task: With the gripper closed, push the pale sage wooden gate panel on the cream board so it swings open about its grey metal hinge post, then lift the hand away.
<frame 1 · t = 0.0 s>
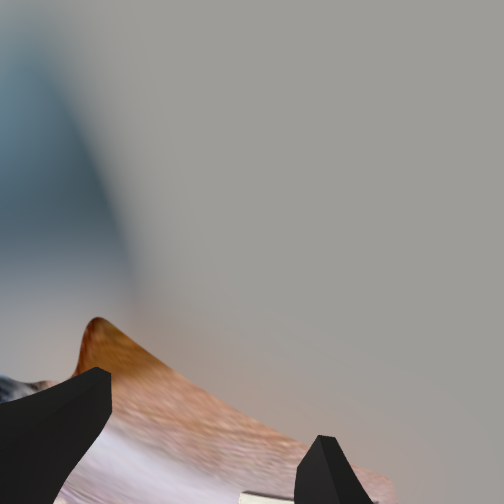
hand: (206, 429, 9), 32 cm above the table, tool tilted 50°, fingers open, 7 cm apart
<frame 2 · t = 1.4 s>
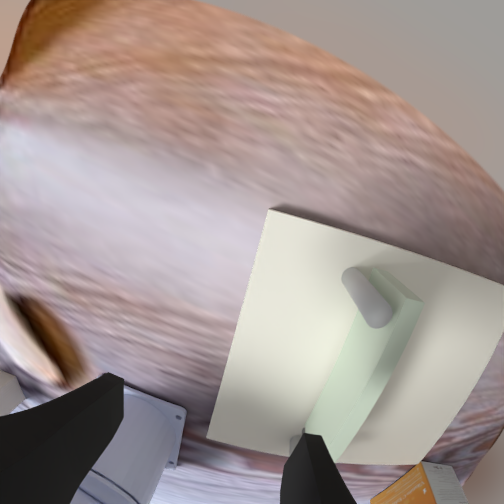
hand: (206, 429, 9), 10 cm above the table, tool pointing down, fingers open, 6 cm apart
gate frame: (370, 374, 19), on the table
gate: (348, 390, 15), point 4 cm above the table, hinge at 0.0°
model: (0, 375, 25), on the table
small box: (410, 482, 22), on the table
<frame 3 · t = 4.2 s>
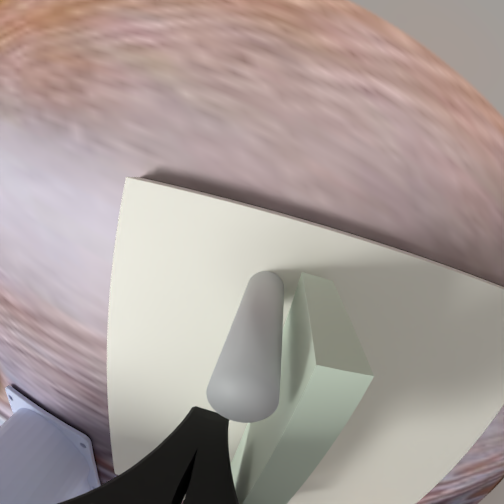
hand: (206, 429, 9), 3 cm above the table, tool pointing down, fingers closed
gate frame: (318, 429, 12), on the table
gate: (253, 471, 8), point 4 cm above the table, hinge at 0.0°, touching gripper
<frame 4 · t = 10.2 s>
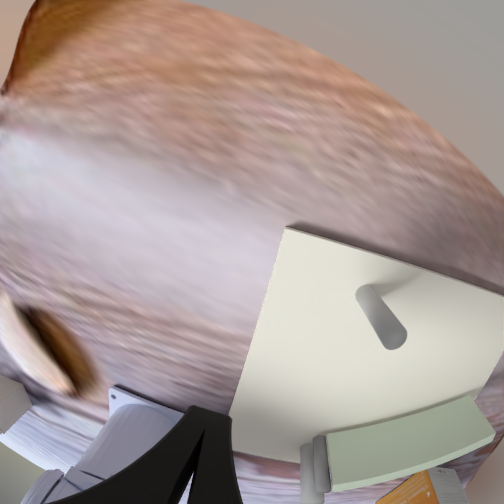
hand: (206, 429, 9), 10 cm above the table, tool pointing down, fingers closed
gate frame: (379, 384, 19), on the table
gate: (405, 445, 16), point 4 cm above the table, hinge at -64.4°
model: (7, 382, 25), on the table
small box: (414, 485, 22), on the table
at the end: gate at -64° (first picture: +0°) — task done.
